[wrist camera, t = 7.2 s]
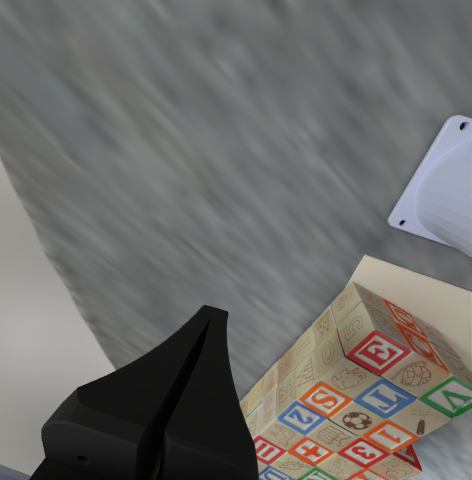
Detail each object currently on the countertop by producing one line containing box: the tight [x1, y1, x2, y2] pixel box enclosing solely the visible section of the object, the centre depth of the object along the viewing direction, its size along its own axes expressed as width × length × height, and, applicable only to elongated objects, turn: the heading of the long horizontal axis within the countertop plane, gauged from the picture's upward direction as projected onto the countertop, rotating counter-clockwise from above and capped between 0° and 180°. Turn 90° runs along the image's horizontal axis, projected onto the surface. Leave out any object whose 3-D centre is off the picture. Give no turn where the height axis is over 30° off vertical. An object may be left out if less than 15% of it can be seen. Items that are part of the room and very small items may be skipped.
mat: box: [345, 255, 472, 372], centre depth 25 cm, size 14×26×1 cm, turn 163°
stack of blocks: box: [240, 281, 472, 480], centre depth 23 cm, size 21×6×12 cm
